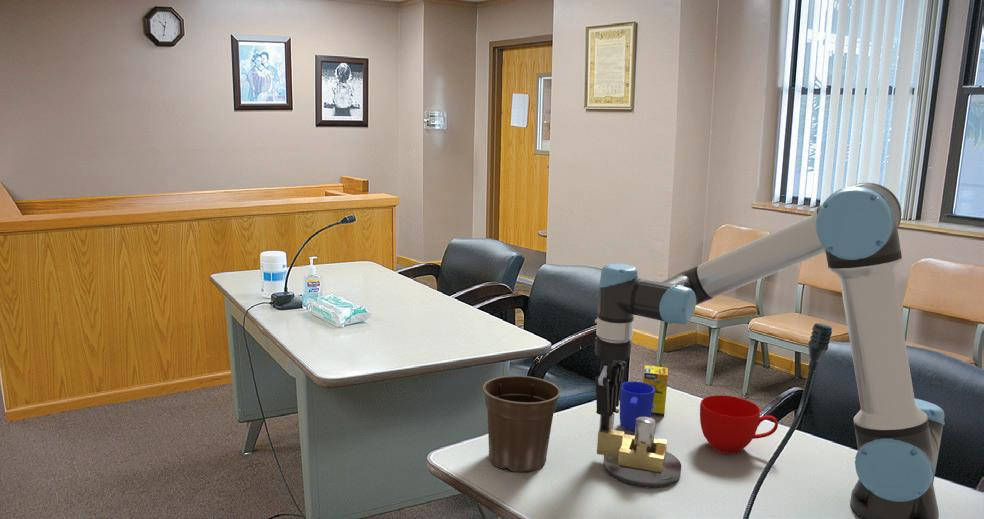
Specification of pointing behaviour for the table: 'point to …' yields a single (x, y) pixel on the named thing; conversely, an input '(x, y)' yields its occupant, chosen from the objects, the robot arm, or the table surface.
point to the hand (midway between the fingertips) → (605, 441)
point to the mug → (635, 403)
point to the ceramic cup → (731, 422)
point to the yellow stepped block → (631, 450)
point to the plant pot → (519, 420)
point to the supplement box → (657, 387)
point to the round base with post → (641, 476)
